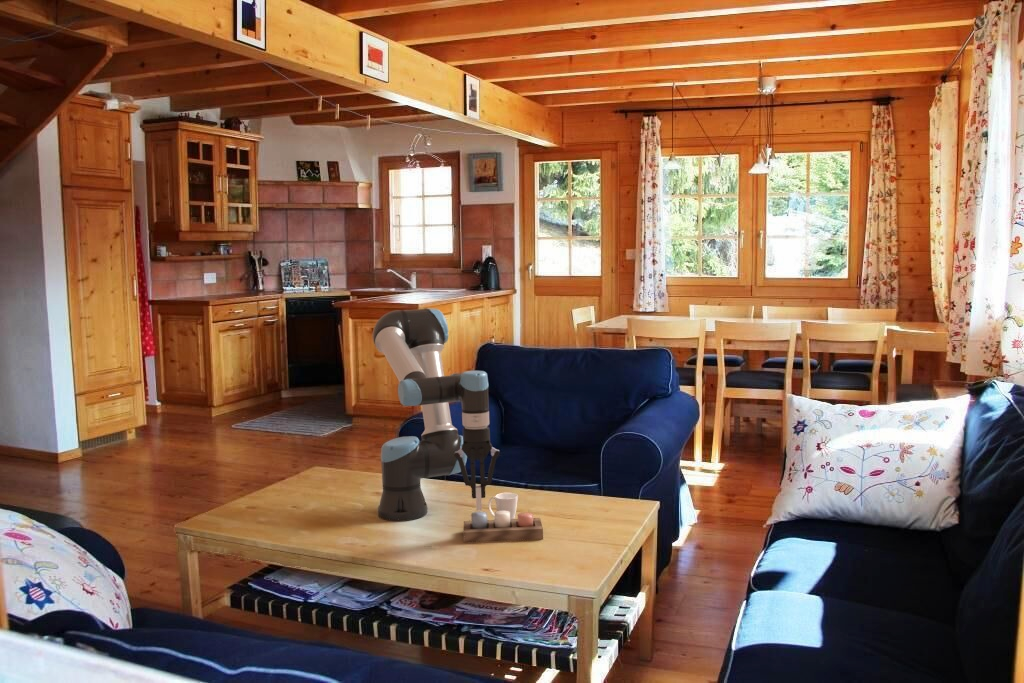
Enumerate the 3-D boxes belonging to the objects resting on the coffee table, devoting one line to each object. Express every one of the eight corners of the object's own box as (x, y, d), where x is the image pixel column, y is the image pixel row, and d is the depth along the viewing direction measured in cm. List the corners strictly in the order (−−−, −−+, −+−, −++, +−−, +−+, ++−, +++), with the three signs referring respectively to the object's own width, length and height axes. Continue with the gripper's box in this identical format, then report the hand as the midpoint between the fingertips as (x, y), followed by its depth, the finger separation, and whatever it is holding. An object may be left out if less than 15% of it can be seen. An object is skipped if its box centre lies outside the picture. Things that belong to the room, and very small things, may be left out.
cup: (510, 527, 253) (509, 500, 252) (482, 522, 259) (481, 495, 258) (523, 520, 259) (522, 494, 258) (496, 515, 264) (495, 489, 264)
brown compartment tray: (463, 542, 241) (463, 532, 240) (464, 531, 251) (463, 521, 250) (543, 539, 242) (542, 528, 241) (540, 527, 252) (540, 517, 251)
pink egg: (518, 531, 244) (517, 517, 244) (517, 526, 248) (517, 512, 248) (534, 530, 244) (533, 516, 244) (532, 525, 249) (532, 512, 248)
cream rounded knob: (495, 529, 244) (494, 515, 243) (494, 524, 248) (494, 510, 248) (510, 528, 244) (510, 514, 243) (510, 523, 248) (509, 510, 248)
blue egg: (471, 530, 243) (471, 516, 243) (471, 525, 248) (471, 511, 247) (487, 529, 244) (487, 515, 243) (487, 524, 248) (486, 511, 247)
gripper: (452, 430, 239) (455, 514, 241) (499, 428, 239) (502, 512, 242) (452, 424, 246) (456, 506, 248) (498, 423, 247) (501, 504, 249)
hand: (479, 509), depth 245 cm, fingers closed
